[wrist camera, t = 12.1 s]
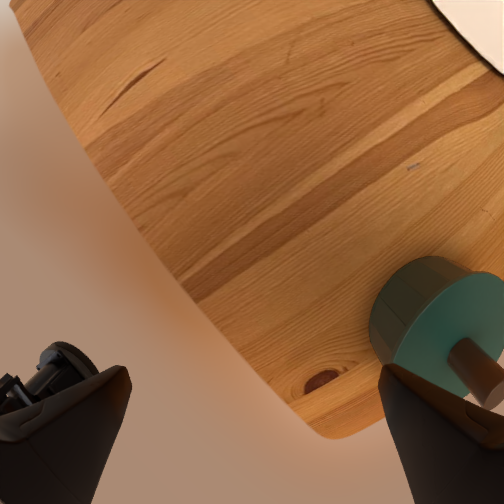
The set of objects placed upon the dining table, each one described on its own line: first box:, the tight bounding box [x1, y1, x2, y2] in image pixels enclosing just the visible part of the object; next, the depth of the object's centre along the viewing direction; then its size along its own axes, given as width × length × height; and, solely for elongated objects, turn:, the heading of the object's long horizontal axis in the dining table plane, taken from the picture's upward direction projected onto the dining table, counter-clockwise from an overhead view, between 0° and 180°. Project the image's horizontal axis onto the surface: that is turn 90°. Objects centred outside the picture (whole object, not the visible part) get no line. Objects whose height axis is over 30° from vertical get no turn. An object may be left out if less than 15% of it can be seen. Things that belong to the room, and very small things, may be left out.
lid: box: [389, 271, 504, 410], centre depth 12 cm, size 11×11×6 cm
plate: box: [431, 0, 504, 75], centre depth 11 cm, size 21×21×1 cm
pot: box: [369, 256, 474, 365], centre depth 17 cm, size 10×10×6 cm
